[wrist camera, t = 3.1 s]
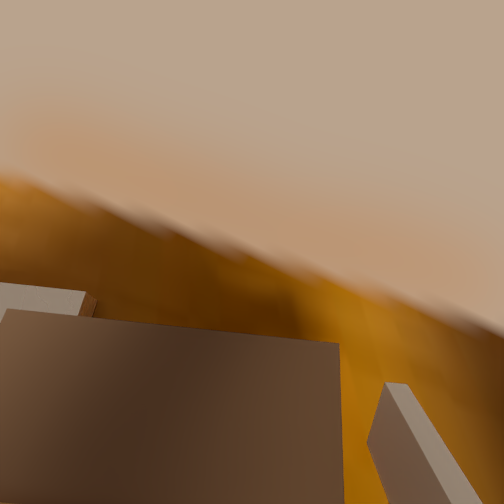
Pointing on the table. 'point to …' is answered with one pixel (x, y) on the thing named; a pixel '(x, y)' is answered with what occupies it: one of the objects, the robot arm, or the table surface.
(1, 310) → the grey stand base
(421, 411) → the robot arm
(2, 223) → the table surface
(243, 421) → the brown slotted box
